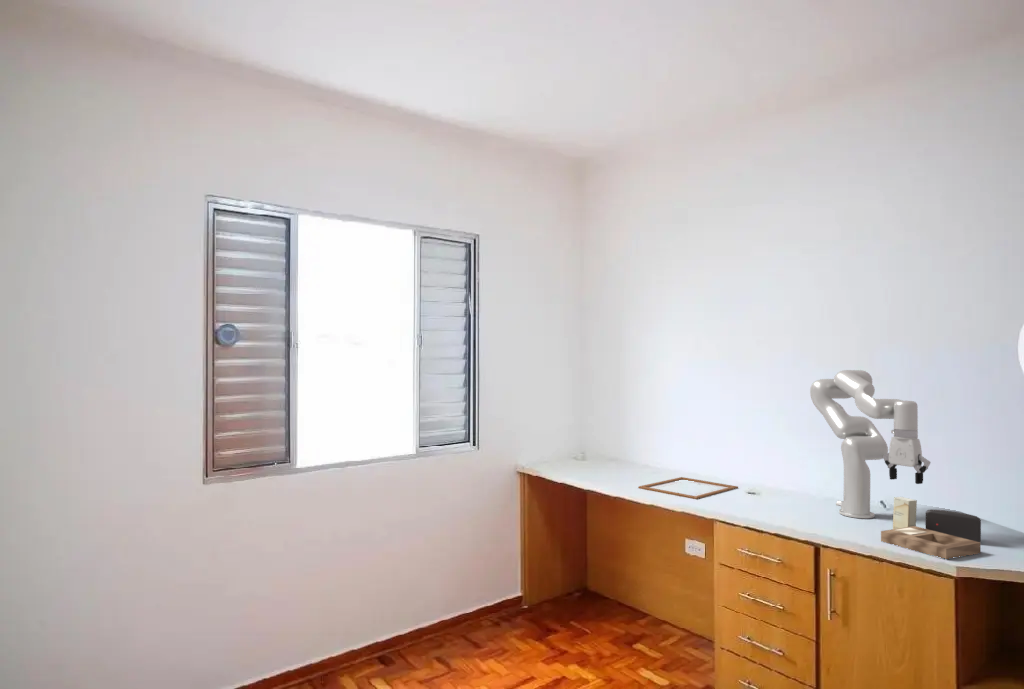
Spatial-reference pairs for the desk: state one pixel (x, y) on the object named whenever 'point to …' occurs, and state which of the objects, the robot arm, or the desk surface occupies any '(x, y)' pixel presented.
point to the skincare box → (904, 512)
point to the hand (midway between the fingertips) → (905, 481)
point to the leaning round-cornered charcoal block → (954, 524)
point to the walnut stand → (931, 542)
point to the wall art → (699, 496)
